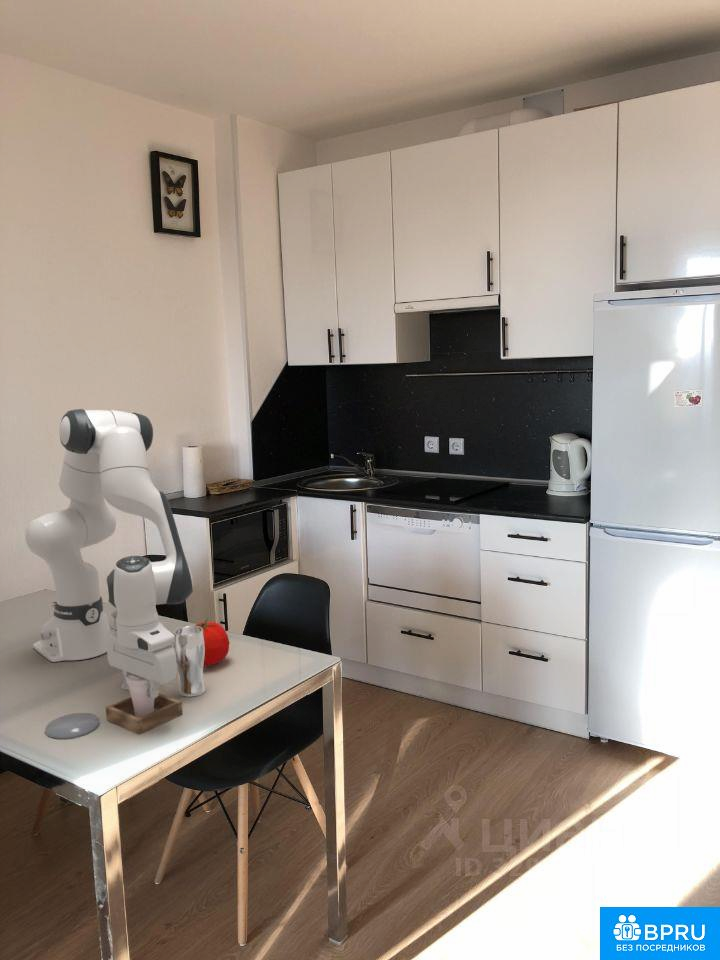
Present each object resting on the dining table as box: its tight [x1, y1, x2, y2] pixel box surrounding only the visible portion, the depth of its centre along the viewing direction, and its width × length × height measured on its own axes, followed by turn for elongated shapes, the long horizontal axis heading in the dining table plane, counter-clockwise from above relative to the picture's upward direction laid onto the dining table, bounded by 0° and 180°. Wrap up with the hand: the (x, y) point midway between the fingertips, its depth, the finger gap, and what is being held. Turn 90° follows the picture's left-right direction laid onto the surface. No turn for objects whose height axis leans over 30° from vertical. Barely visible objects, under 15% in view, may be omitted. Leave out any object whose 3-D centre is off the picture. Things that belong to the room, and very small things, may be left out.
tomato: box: [194, 618, 230, 667], centre depth 208 cm, size 12×12×11 cm
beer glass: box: [173, 625, 206, 698], centre depth 192 cm, size 7×7×15 cm
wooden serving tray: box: [105, 692, 183, 735], centre depth 180 cm, size 12×12×3 cm
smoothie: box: [126, 673, 155, 718], centre depth 179 cm, size 6×6×14 cm
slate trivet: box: [44, 712, 101, 740], centre depth 177 cm, size 11×11×1 cm
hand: (143, 693), depth 179 cm, fingers closed on smoothie, 6 cm apart
